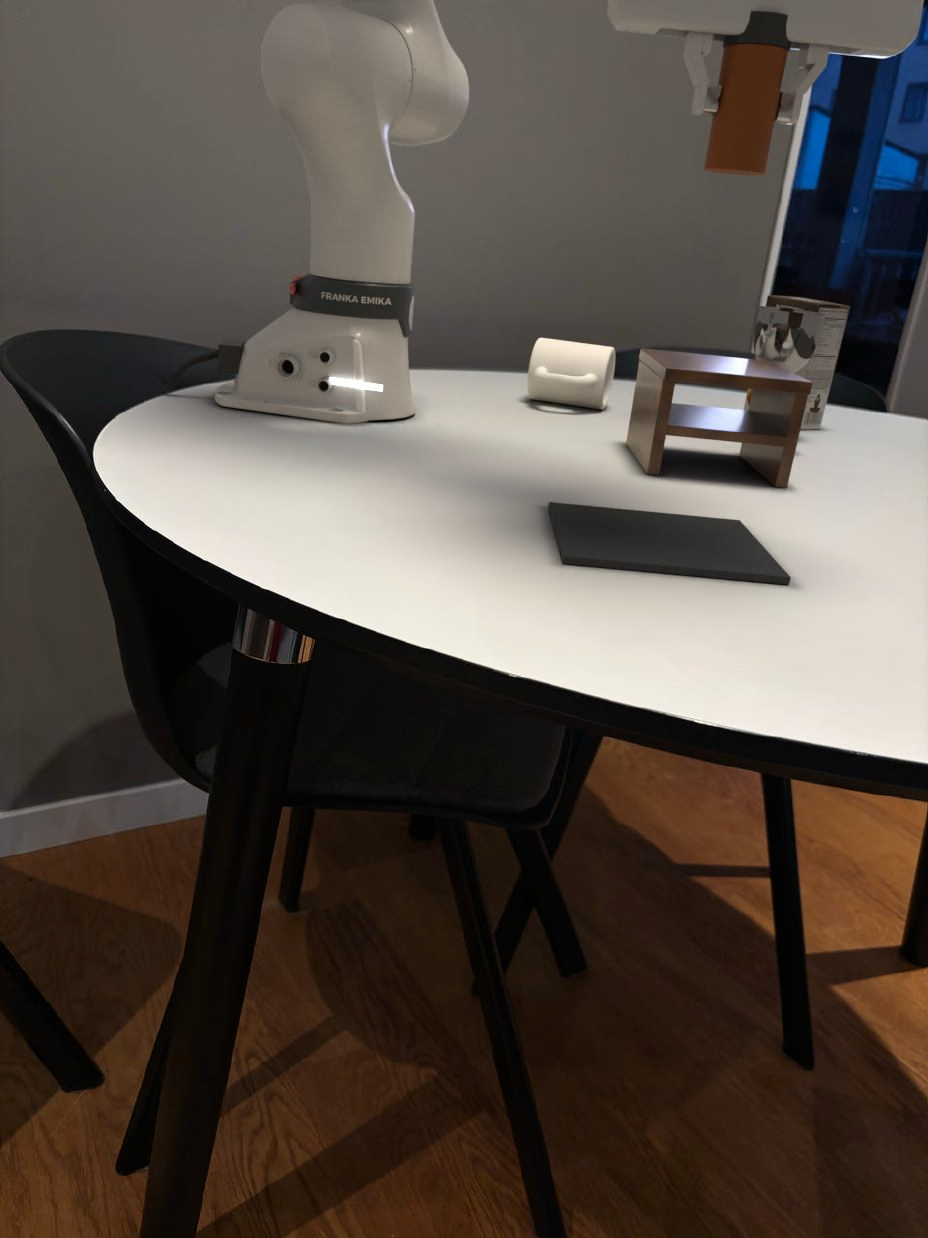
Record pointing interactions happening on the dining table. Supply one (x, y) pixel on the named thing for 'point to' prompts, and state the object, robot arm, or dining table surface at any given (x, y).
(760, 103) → the spice bottle
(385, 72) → the robot arm
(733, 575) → the mat
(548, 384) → the mug
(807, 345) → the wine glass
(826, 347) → the coffee box
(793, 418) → the shelf
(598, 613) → the dining table surface
